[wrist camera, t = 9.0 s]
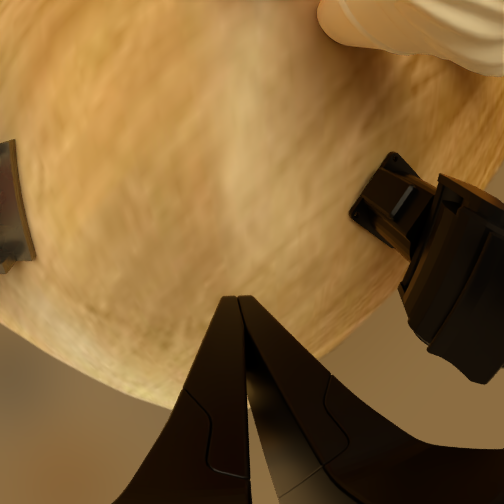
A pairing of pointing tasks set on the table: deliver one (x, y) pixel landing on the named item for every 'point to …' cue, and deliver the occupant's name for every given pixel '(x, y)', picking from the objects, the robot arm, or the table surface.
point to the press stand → (12, 213)
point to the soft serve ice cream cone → (422, 29)
